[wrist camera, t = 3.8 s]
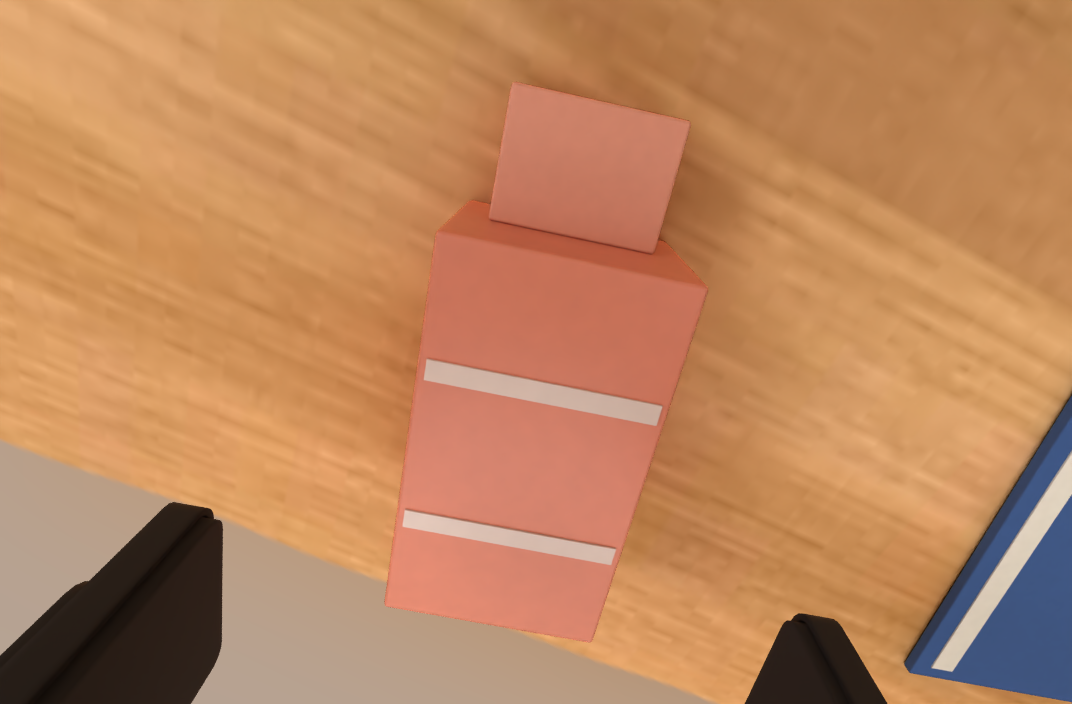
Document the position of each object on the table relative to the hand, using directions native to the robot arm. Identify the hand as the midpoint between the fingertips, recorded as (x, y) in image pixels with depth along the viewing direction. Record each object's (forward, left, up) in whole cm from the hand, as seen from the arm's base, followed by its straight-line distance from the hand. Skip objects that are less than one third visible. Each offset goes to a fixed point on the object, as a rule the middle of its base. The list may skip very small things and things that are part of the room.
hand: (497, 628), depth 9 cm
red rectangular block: (-2, 0, -9) cm, 9 cm away
